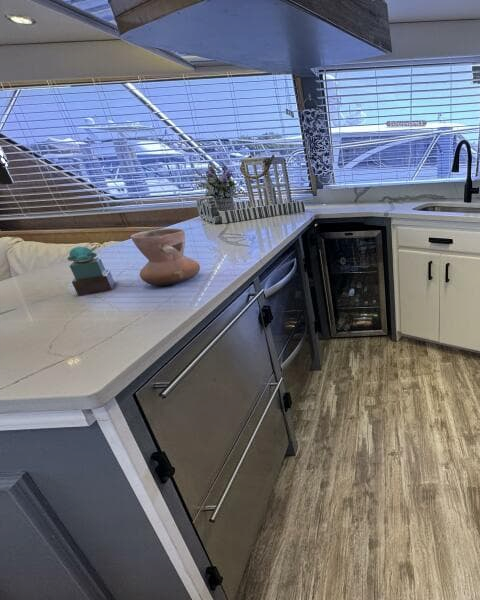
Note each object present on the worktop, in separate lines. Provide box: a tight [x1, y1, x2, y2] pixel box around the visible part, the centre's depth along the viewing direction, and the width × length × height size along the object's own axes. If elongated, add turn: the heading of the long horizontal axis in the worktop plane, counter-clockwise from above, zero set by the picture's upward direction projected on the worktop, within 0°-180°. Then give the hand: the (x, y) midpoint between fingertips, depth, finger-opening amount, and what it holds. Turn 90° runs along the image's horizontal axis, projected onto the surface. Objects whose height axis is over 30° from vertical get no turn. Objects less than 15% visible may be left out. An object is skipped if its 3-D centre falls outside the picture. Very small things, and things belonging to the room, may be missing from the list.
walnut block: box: [71, 269, 116, 297], centre depth 89 cm, size 7×7×4 cm
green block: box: [69, 257, 107, 280], centre depth 87 cm, size 6×6×4 cm
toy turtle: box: [67, 246, 98, 262], centre depth 85 cm, size 6×7×4 cm
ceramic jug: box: [130, 228, 201, 286], centre depth 91 cm, size 18×14×14 cm
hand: (0, 185), depth 71 cm, fingers open, 8 cm apart
